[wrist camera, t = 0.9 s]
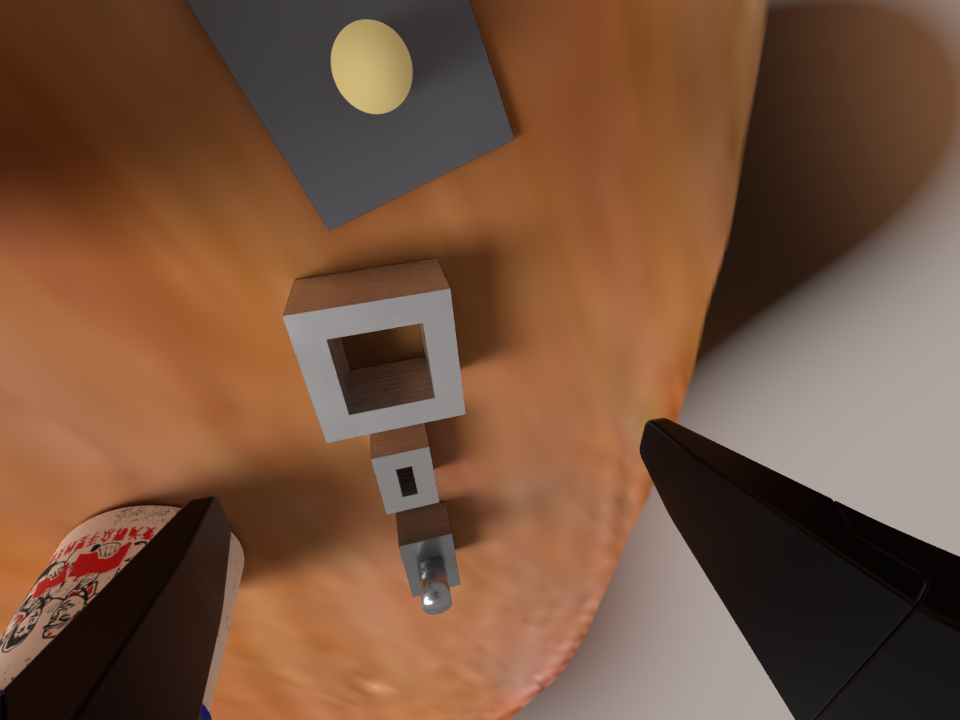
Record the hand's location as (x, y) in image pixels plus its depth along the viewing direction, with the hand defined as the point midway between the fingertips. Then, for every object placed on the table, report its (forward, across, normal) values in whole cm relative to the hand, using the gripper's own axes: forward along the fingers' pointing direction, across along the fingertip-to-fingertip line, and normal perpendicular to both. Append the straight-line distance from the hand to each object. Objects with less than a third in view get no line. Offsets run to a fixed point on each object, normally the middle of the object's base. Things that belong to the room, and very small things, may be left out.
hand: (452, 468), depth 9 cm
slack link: (+12, +1, +10) cm, 16 cm away
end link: (+12, +1, +3) cm, 13 cm away
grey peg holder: (+12, 0, -7) cm, 14 cm away
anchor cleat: (+12, 0, +18) cm, 21 cm away
